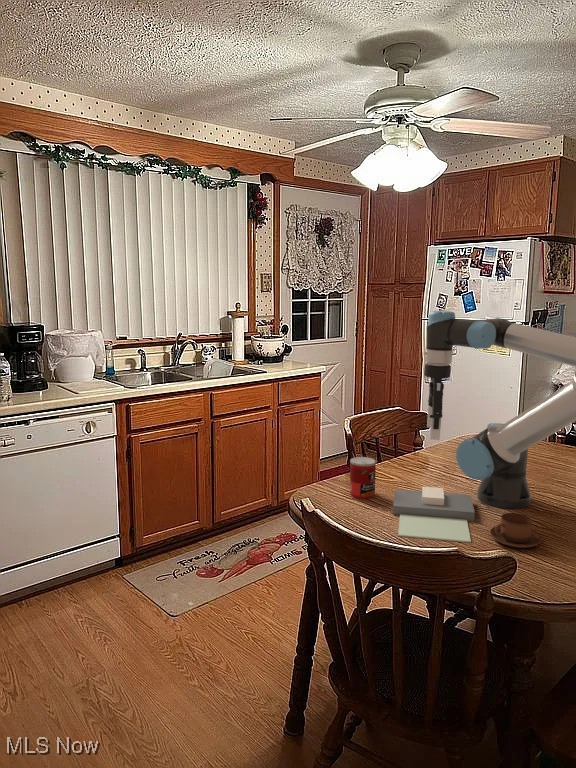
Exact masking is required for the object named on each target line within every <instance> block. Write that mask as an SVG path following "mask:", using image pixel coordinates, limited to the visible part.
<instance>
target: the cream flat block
mask: <svg viewBox="0 0 576 768" xmlns="http://www.w3.org/2000/svg"><path fill="white" fill-rule="evenodd" d="M421 489H422V490H421V491H422V504H432V505H444V493H445V491H444V488H443V487H432V486H422V488H421Z"/></svg>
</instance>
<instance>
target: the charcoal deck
mask: <svg viewBox="0 0 576 768" xmlns="http://www.w3.org/2000/svg"><path fill="white" fill-rule="evenodd" d="M472 499H473V498H472V495H471V494H463V493H449V492H444V505H432V504H422V490H408V489H407V490H406V489H398V488H396V489H394V496H393V504H392V515H395V516H396V515H397V516H400V514H404V515H416V516H428V517H440V518H452V519H464V520H467V522H468V521H469V522H475V516H476V515H475V514H476V512H475V508H474V504H473V503H474V502H473V500H472Z"/></svg>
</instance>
